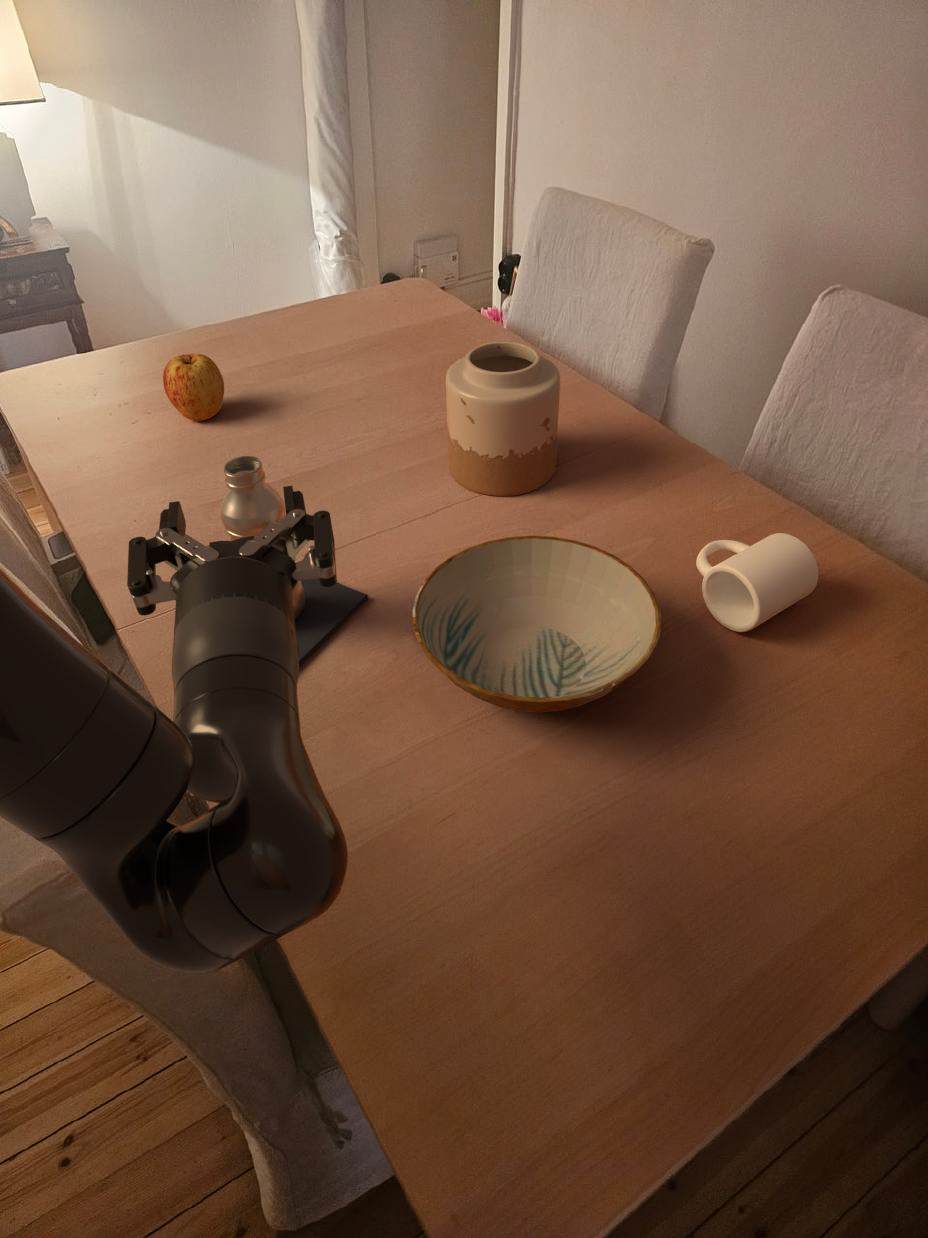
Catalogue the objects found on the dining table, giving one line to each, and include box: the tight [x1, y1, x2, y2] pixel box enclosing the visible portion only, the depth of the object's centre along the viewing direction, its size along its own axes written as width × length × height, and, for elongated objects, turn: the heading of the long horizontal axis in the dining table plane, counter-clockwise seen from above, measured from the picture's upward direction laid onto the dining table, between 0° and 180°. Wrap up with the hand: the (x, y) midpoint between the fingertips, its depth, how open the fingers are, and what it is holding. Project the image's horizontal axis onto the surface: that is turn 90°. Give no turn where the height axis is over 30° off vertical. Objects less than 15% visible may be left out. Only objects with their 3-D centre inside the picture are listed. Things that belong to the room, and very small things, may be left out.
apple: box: [162, 353, 225, 422], centre depth 129 cm, size 9×9×10 cm
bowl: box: [412, 535, 662, 713], centre depth 86 cm, size 25×25×8 cm
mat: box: [295, 578, 369, 668], centre depth 95 cm, size 16×14×1 cm
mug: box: [695, 532, 819, 633], centre depth 93 cm, size 12×10×8 cm
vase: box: [444, 340, 561, 497], centre depth 112 cm, size 15×15×17 cm
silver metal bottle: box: [219, 455, 305, 619], centre depth 88 cm, size 6×7×20 cm
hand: (234, 503), depth 63 cm, fingers open, 8 cm apart
